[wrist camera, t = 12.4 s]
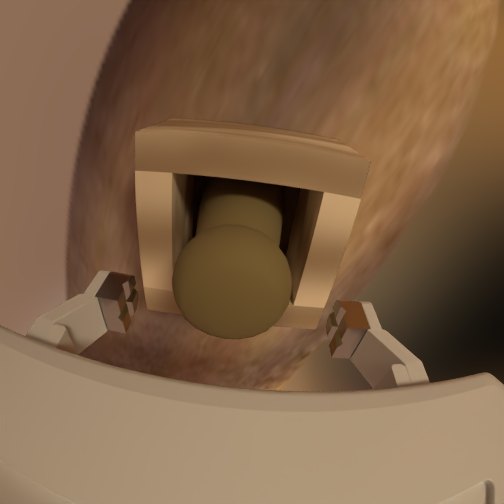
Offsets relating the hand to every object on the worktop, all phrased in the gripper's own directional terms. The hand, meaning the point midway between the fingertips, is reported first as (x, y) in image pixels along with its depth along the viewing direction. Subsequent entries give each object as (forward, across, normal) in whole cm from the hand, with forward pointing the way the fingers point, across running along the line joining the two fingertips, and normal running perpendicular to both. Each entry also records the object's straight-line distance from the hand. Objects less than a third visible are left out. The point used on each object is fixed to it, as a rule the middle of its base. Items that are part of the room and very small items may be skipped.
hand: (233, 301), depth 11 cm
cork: (+11, 0, 0) cm, 11 cm away
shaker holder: (+11, 0, 0) cm, 11 cm away
